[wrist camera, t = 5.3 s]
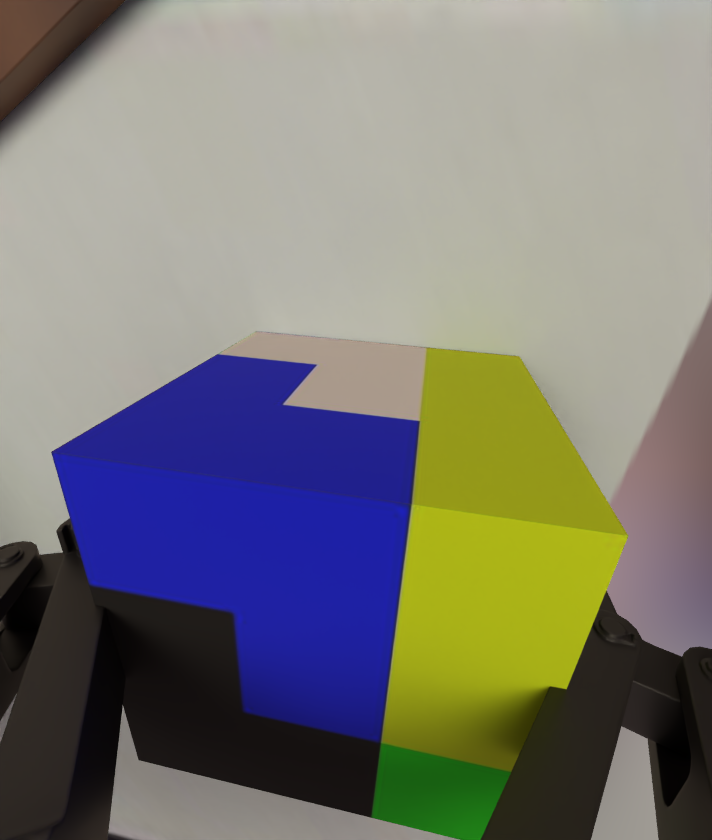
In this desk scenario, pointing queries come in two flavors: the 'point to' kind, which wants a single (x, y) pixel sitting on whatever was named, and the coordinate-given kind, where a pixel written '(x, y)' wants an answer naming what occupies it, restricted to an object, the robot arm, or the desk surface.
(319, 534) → the puzzle toy
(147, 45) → the desk surface
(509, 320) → the desk surface
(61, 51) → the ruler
